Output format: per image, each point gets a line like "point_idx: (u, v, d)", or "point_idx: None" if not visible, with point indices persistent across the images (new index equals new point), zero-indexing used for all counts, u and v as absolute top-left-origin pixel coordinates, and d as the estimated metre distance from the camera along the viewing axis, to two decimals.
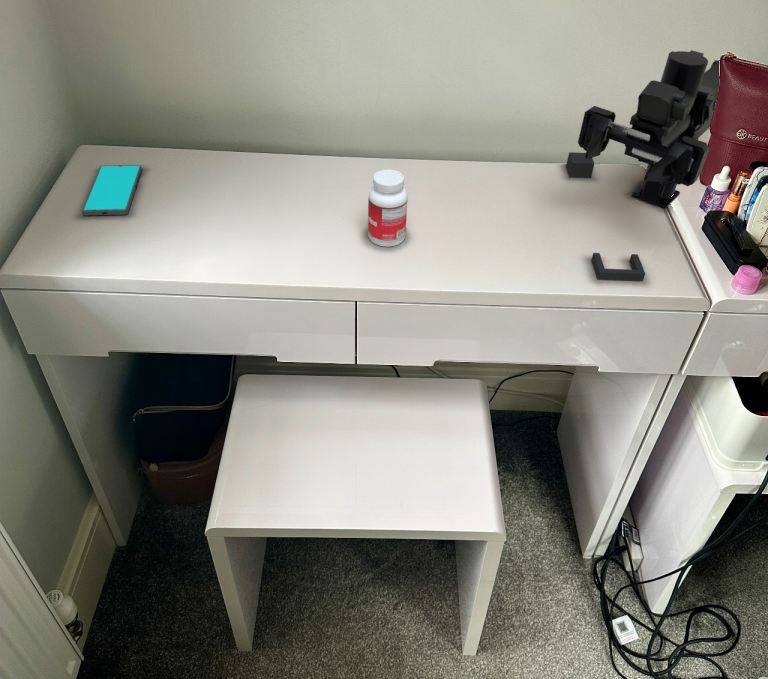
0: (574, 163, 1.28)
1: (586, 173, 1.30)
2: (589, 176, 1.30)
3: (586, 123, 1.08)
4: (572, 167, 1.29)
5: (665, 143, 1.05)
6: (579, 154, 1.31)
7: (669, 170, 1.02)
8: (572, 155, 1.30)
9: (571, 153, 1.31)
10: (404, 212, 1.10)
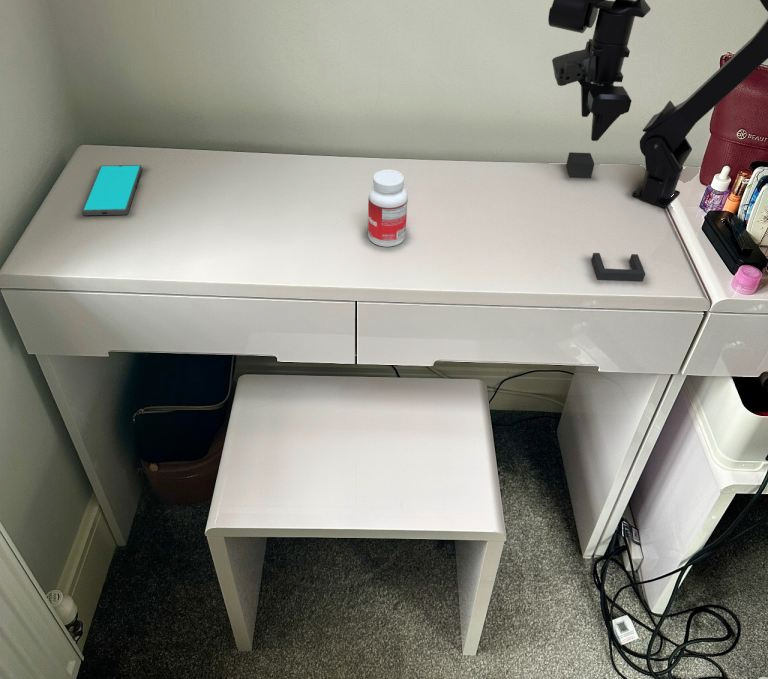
0: (574, 163, 1.28)
1: (586, 173, 1.30)
2: (589, 176, 1.30)
3: None
4: (572, 167, 1.29)
5: (605, 75, 1.16)
6: (579, 154, 1.31)
7: None
8: (572, 155, 1.30)
9: (571, 153, 1.31)
10: (404, 212, 1.10)
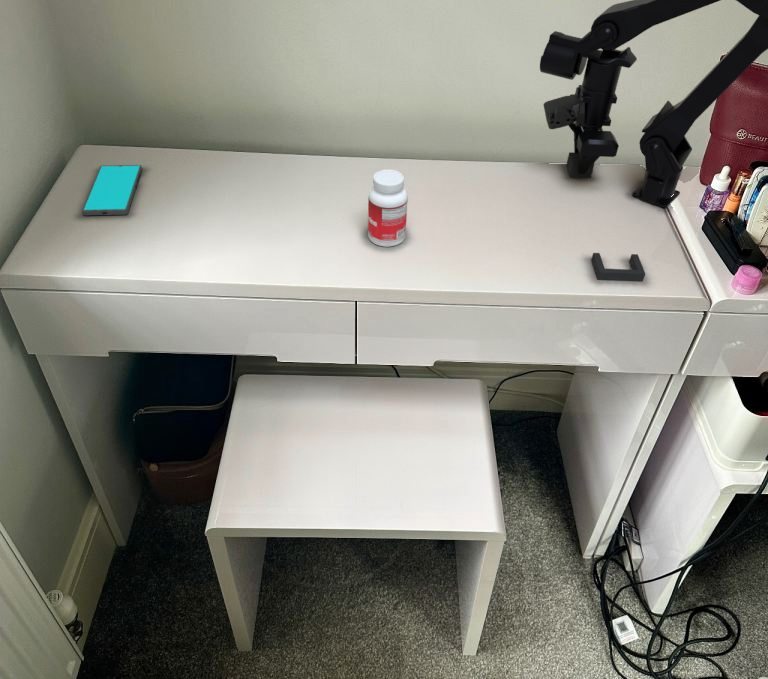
0: (574, 163, 1.28)
1: (586, 173, 1.30)
2: (589, 176, 1.30)
3: None
4: (572, 167, 1.29)
5: (594, 119, 1.22)
6: (579, 154, 1.31)
7: None
8: (572, 155, 1.30)
9: (571, 153, 1.31)
10: (404, 212, 1.10)
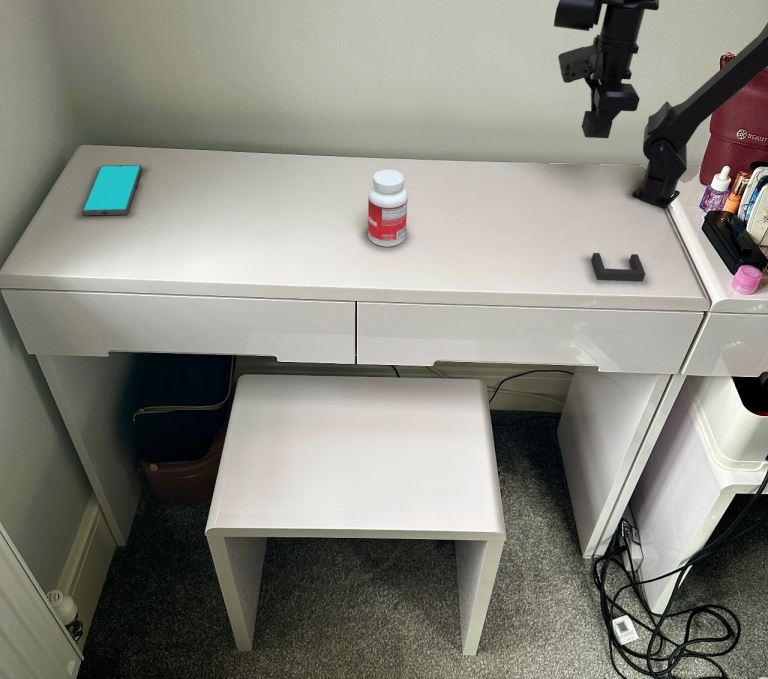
0: (590, 121, 1.19)
1: (603, 133, 1.20)
2: (606, 136, 1.21)
3: None
4: (588, 126, 1.19)
5: (612, 72, 1.12)
6: (596, 112, 1.21)
7: None
8: (588, 113, 1.21)
9: (587, 111, 1.21)
10: (404, 212, 1.10)
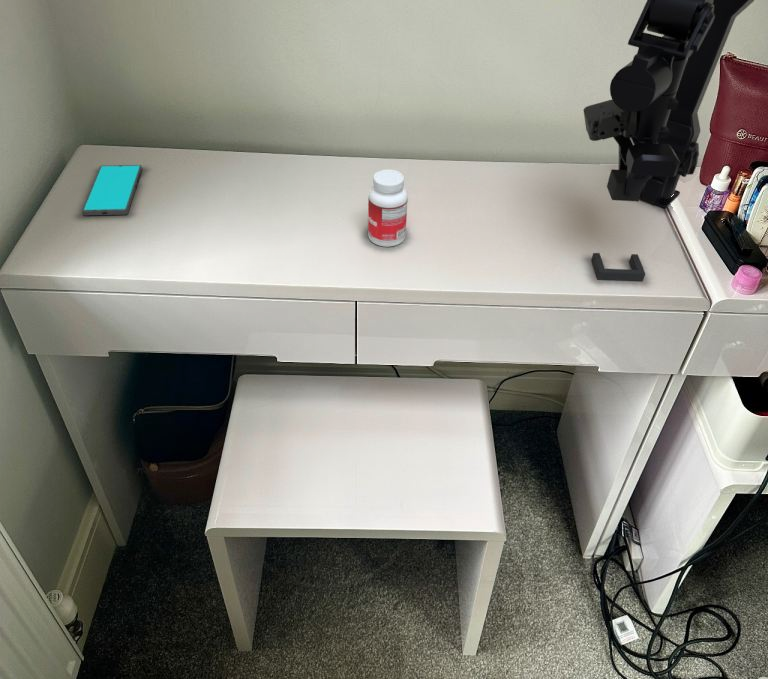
0: (618, 183, 1.04)
1: (633, 195, 1.05)
2: (636, 199, 1.05)
3: None
4: (616, 188, 1.04)
5: (647, 129, 0.97)
6: (624, 172, 1.06)
7: None
8: (615, 173, 1.05)
9: (614, 170, 1.06)
10: (404, 212, 1.10)
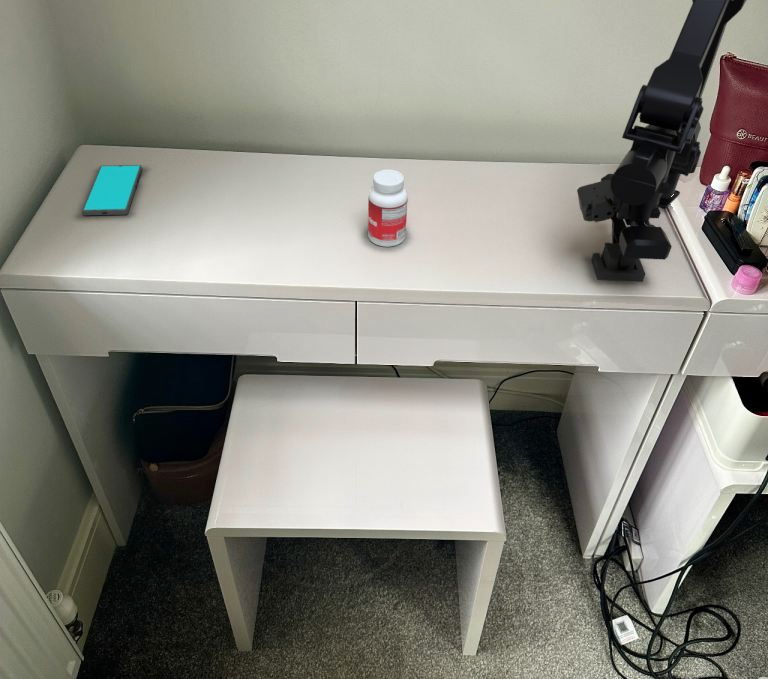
0: (612, 258, 1.06)
1: None
2: None
3: None
4: (609, 262, 1.07)
5: (639, 211, 1.00)
6: (617, 245, 1.09)
7: None
8: (609, 247, 1.08)
9: (608, 244, 1.09)
10: (404, 212, 1.10)
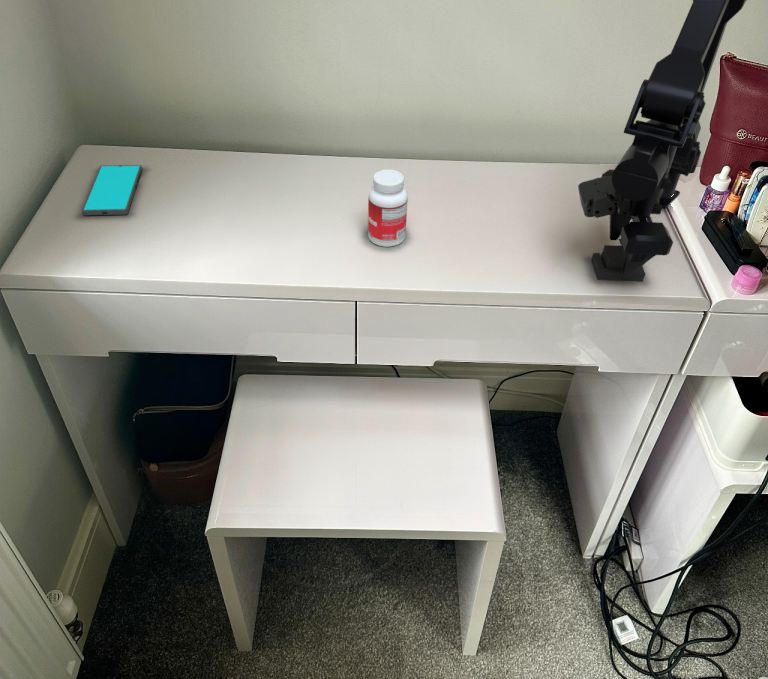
0: (611, 261, 1.07)
1: None
2: None
3: None
4: (609, 265, 1.07)
5: (641, 207, 0.99)
6: (616, 248, 1.09)
7: None
8: (608, 249, 1.09)
9: (607, 246, 1.09)
10: (404, 212, 1.10)
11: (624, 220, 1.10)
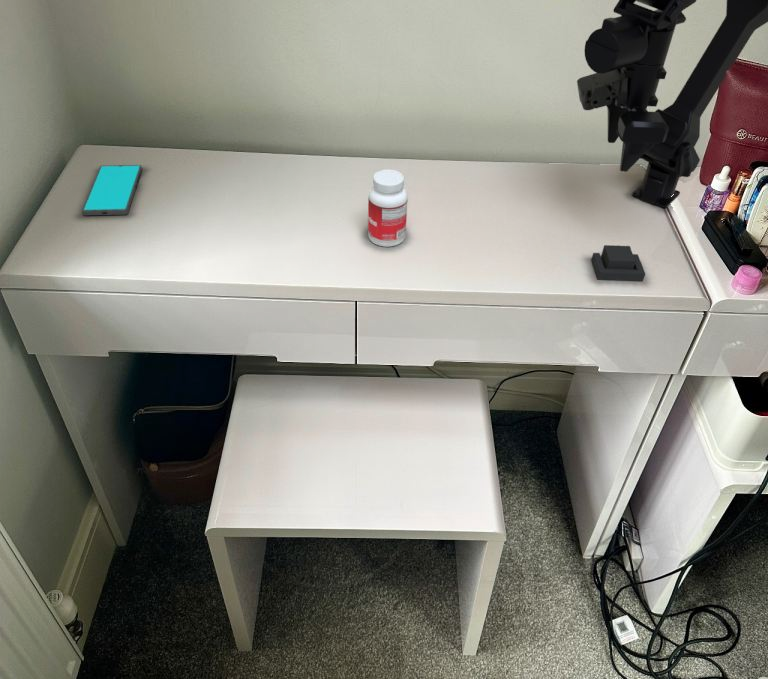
0: (611, 261, 1.07)
1: None
2: None
3: None
4: (609, 265, 1.07)
5: (637, 98, 1.03)
6: (616, 248, 1.09)
7: None
8: (608, 249, 1.09)
9: (607, 246, 1.09)
10: (404, 212, 1.10)
11: None
